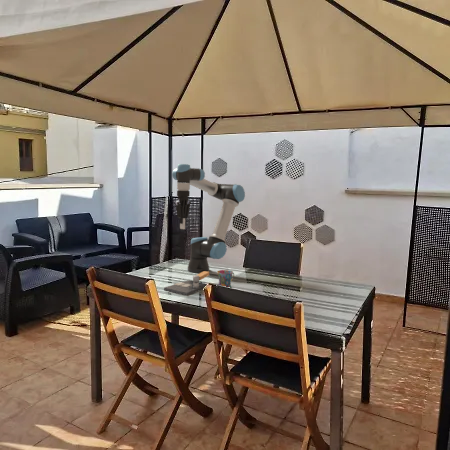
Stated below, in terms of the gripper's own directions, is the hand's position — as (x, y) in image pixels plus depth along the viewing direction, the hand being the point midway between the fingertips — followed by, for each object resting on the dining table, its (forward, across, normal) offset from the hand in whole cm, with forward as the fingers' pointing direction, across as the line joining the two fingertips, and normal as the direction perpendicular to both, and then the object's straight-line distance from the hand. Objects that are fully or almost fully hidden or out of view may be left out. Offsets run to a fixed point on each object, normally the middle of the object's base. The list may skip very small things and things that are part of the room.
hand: (182, 228), depth 235 cm
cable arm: (+27, +4, +18) cm, 33 cm away
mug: (+33, -2, +32) cm, 46 cm away
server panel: (+32, +11, +14) cm, 37 cm away
